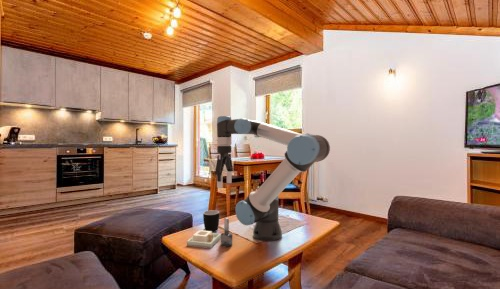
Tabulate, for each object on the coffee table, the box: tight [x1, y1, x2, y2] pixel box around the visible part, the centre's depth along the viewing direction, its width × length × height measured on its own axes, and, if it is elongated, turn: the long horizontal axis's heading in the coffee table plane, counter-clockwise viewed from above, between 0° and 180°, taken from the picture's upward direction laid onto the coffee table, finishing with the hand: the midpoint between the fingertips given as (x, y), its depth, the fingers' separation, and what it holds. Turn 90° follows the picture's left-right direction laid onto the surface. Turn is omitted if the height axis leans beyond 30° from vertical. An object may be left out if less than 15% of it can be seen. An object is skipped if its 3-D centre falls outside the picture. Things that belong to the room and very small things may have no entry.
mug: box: [202, 209, 220, 233], centre depth 141 cm, size 12×9×10 cm
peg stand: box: [220, 216, 233, 248], centre depth 120 cm, size 6×6×13 cm
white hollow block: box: [192, 229, 214, 243], centre depth 124 cm, size 9×7×3 cm
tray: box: [186, 232, 222, 249], centre depth 124 cm, size 13×13×2 cm
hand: (224, 185), depth 131 cm, fingers open, 13 cm apart
